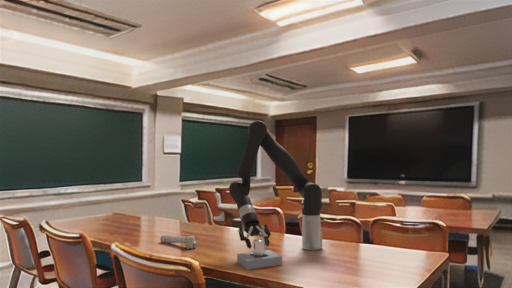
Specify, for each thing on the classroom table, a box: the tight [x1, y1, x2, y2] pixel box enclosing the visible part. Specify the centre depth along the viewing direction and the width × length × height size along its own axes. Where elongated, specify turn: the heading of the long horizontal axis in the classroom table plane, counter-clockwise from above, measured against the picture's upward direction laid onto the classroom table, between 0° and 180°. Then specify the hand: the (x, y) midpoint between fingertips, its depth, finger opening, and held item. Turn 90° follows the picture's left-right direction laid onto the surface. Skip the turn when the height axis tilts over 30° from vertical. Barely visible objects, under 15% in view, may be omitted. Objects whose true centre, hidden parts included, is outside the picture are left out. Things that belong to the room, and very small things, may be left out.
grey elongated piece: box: [160, 234, 197, 250], centre depth 188 cm, size 5×7×25 cm
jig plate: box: [236, 249, 283, 270], centre depth 155 cm, size 16×12×4 cm
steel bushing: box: [252, 238, 266, 258], centre depth 155 cm, size 5×5×10 cm
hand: (259, 246), depth 156 cm, fingers open, 8 cm apart
